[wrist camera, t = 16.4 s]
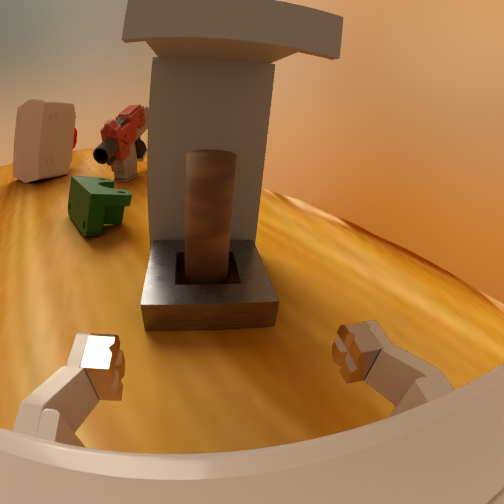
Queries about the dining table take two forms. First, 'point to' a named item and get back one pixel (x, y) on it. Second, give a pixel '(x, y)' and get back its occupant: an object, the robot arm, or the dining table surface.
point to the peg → (208, 215)
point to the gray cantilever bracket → (217, 92)
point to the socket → (207, 292)
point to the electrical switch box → (43, 139)
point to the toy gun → (124, 142)
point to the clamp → (96, 204)
